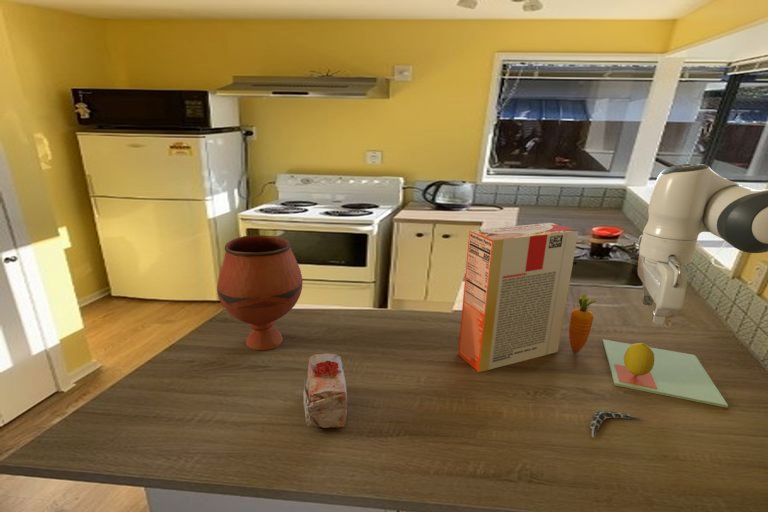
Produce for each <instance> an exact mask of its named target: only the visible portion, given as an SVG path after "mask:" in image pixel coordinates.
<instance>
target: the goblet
mask: <svg viewBox="0 0 768 512" xmlns="http://www.w3.org/2000/svg"><path fill="white" fill-rule="evenodd" d="M303 282H304V281H303V276H302V271H301V268H300V265H299V263H298V261H297V259H296V256H295V255H294V252H293V250H292V247H291V242H290V240H288V239H286V238H283V237H280V236H276V235H266V234H265V235H263V234H262V235H260V234H259V235H258V234H252V235H244V236H239V237H236V238H234V239H231V240H229V241H228V242H226V243H225V245H224V258H223V261H222V264H221V268H220V271H219V274H218V278H217V285H216V292H217V293H216V294H217V297H218V299H219V302H220V304H221V305H222V307H223V308H224V309H225V310H226V311H227V313H229V314H230V315H231V316H232V317H234V318H235V319H236V320H238V321H240V322H242V323H245V324H249V328H251V332H250V333H249V334H248V336H247V338H246V341H245V344H246V346H247V347H248V348H249V349H252V350H255V351H269V350H272V349H276V348H277V347H279V346H280V345H281V344H282V342H283V340H284V339H283V335H282V333H281V332H280V331H279V330H278V329H277V328H276V327H275V326H274V325H275V323H276V321H277V320H280V319H281V318H282V317H285V316H286V315H287V314H288V313H290V311H291V310H292V309H293V308H294V307H295V305H296V304H297V302H298V301H299V299H300V297H301V294H302V290H303Z"/></svg>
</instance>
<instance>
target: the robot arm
mask: <svg viewBox="0 0 768 512" xmlns="http://www.w3.org/2000/svg"><path fill="white" fill-rule="evenodd" d="M647 212H648V218H647V222H646V225H645V226H644V227H643V232H642V234H641V235H640V236H639V238H638V243H637V244H638V246H639V250H638V259H637V276H638V278H639V279H640V281H641V283H642V296H641V303H642V304H643V305H644V306H652V305H653V304H655V310H654V311H653V312H652V315H651V320H652V323H653V324H655V325H659V326H662V325H664V324H665V321H666V317H667V316H668V314H669V313H670V312H680V311H681V309H682V308H683V306H684V302H685V295H686V291H687V287H688V286H687V285H688V273H687V271H686V270H685V269H684V268H683V265H685V264H686V265H687V264H690V263H692V261H693V258H694V254H695V250H696V246H697V242H698V238H699V235H700V234H701V233H703V232H704V233H710V234H711V235H714V236H715V237H718V238H720V239H721V240H724V241H725V242H726V243H728V244H729V245H730V246H732V247H733V248H735V249H736V250H738V251H741V252H743V253H748V254H763V253H767V252H768V188H766V189H757V188H756V189H755V188H752V187H750V186H746V185H742V184H739V183H737V182H734V181H732V180H729V179H727V178H725V177H723V176H721V175H720V174H718V173H716V172H715V171H714V170H713V169H711V166H709V165H706V164H702V163H700V164H699V163H685V164H684V163H683V164H677V165H671V166H669V167H666V168H665V169H663V170H662V171H661V172H660V173H659V175H658V176H657V178H656V180H655V182H654V185H653V189H652V191H651V196H650V200H649V204H648V208H647ZM653 302H654V303H653Z"/></svg>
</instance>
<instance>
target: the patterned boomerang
mask: <svg viewBox="0 0 768 512" xmlns="http://www.w3.org/2000/svg"><path fill="white" fill-rule="evenodd" d="M612 418H613V419H629V420H630V419H633V420H639V421H643V420H644V419H643V417H639V416H634V415H630V414H629V413H624V412H616V411H610V410H600V409H599V410H596V411H595V412H594V415H593V417H592V419H591V422H590V426H589V428H590V429H591V437H592V438H596V434H597V431H599V430H600V427H601V425H602V423H603V422H604V421H605V420H606V419H612Z"/></svg>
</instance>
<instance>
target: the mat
mask: <svg viewBox="0 0 768 512" xmlns="http://www.w3.org/2000/svg"><path fill="white" fill-rule="evenodd" d="M601 342H602V345H603V349H604V352H605V356H606V360H607V364H608V367H609V370H610V375H611V378H612V381H613V384H614V386H616V387H622V388H627V389H631V390H634V391H635V390H636V391H641V392H646V393H652V394H655V395H661V396H667V397H670V398H675V399H682V400H686V401H691V402H695V403H701V404H705V405H711V406H716V407H721V408H725V409H728V407H729V404H728V403H727V401H726V400H725V398H724V396H723V395H722V394H721V392H720V391H719V389H718V388H717V385H716V384H715V383H714V381H713V380H712V379H711V377H710V376H709V374H708V372H707V371H706V369H705V368H704V366H703V365H702V363H701V362H700V360H699V358H698V357H697V356H696V354H693V353H691V354H690V353H686V352H680V351H674V350H668V349H661V348H656V347H652V346H649V347H650V348H651V349H652V351H653V353H654V366H653V368H652V370H651V371H650V372H649V373H648V374H646V375H642V376H639V375H638V376H634V375H633V374H632V373H631V372H629V371H628V370H627V368H626V367H625V364H624V355H625V352H626V350H627V349H628V347H629V346H631V345H632V344H633V343H627V342H623V341H622V342H621V341H615V340H611V339H610V340H609V339H604V338H603V339H602V340H601Z"/></svg>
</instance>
